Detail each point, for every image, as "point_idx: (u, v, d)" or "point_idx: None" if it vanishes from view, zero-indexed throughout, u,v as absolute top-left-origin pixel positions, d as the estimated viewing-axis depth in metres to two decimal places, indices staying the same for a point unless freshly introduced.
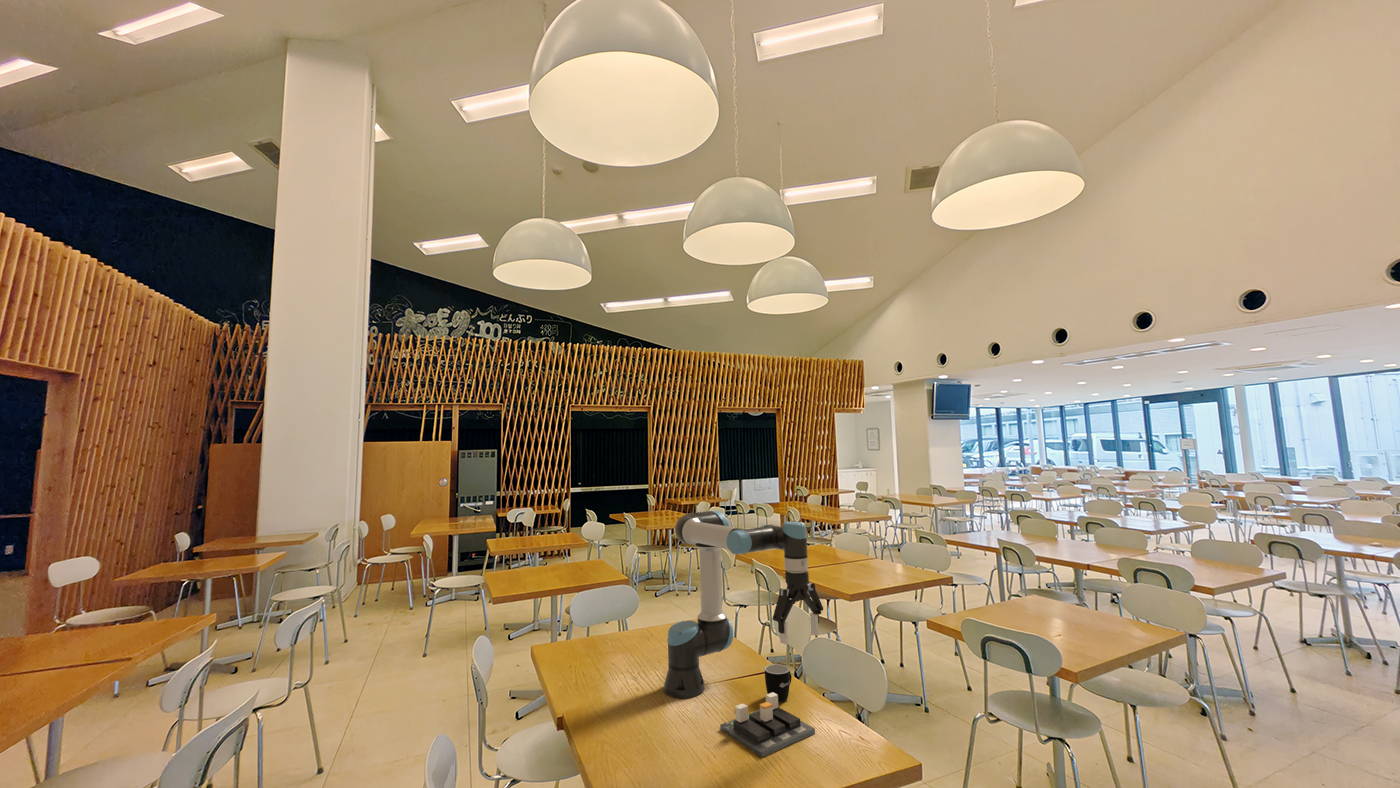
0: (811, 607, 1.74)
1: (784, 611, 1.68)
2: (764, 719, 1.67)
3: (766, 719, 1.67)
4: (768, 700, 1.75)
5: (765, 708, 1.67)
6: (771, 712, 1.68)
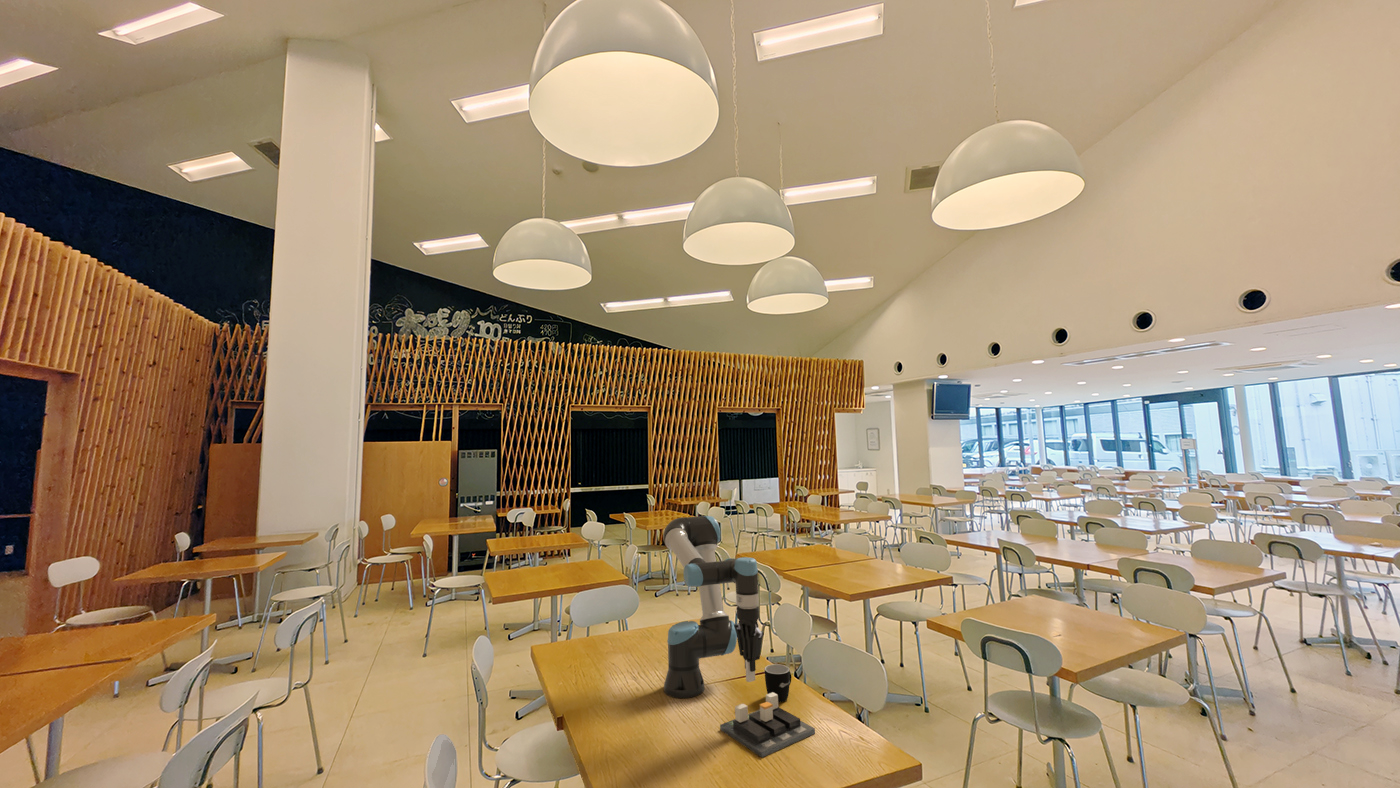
0: None
1: None
2: (764, 719, 1.67)
3: (766, 719, 1.67)
4: (768, 700, 1.75)
5: (765, 708, 1.67)
6: (771, 712, 1.68)
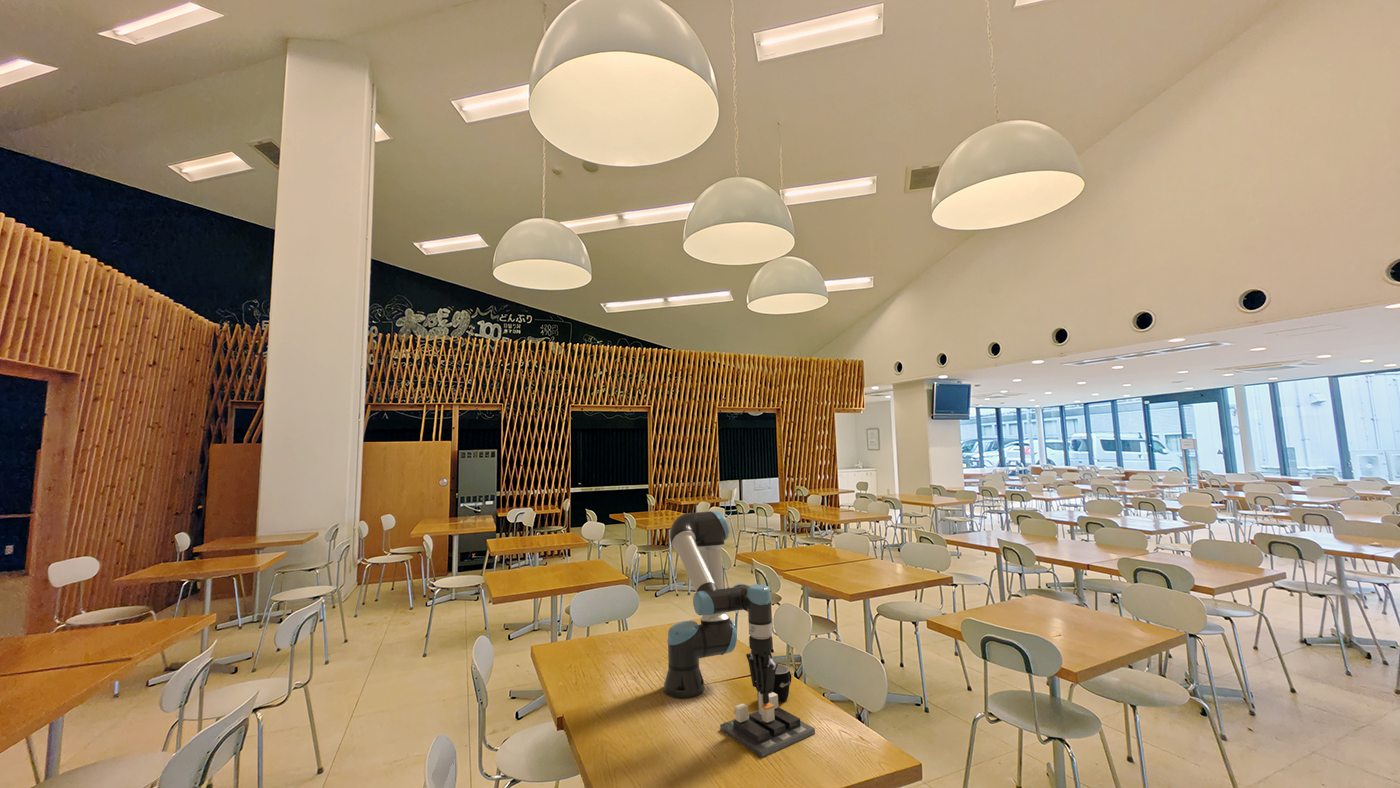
0: None
1: None
2: (766, 720, 1.66)
3: (768, 720, 1.66)
4: None
5: (767, 709, 1.66)
6: (773, 713, 1.67)
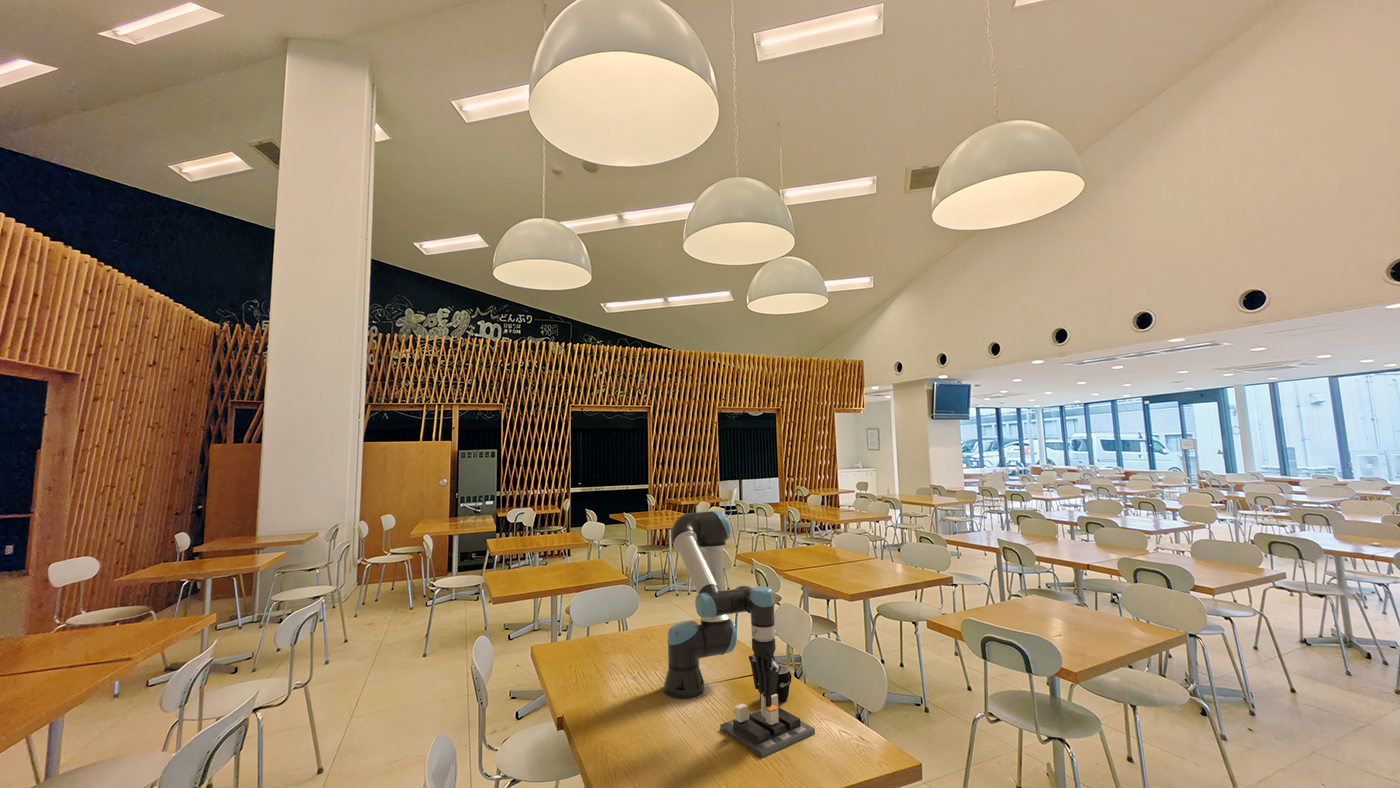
0: None
1: None
2: (770, 722, 1.64)
3: (772, 722, 1.64)
4: None
5: (771, 711, 1.65)
6: (777, 715, 1.66)
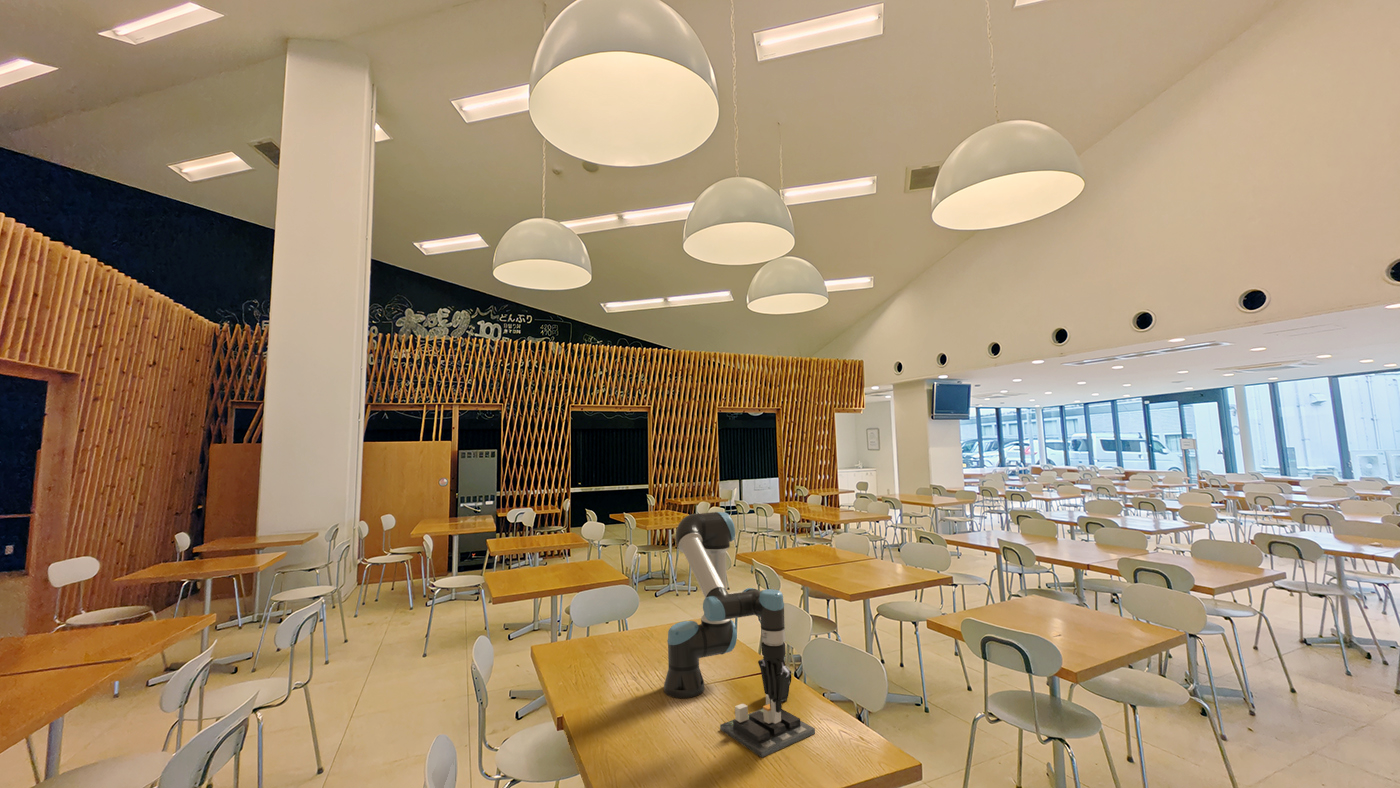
0: None
1: None
2: (767, 721, 1.65)
3: (769, 721, 1.65)
4: (768, 700, 1.75)
5: (768, 710, 1.66)
6: None
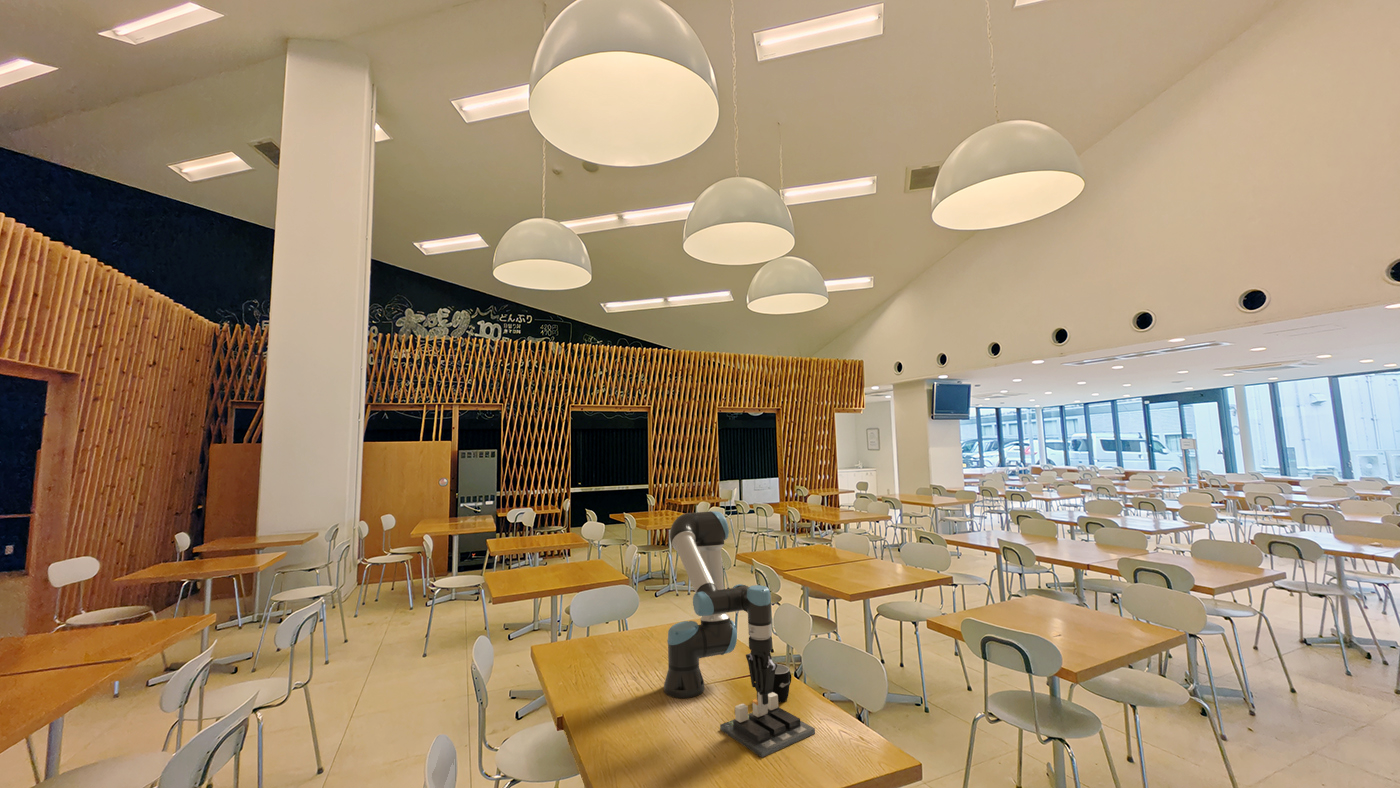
0: None
1: None
2: (756, 715, 1.70)
3: (758, 715, 1.70)
4: (768, 700, 1.75)
5: (757, 704, 1.70)
6: None
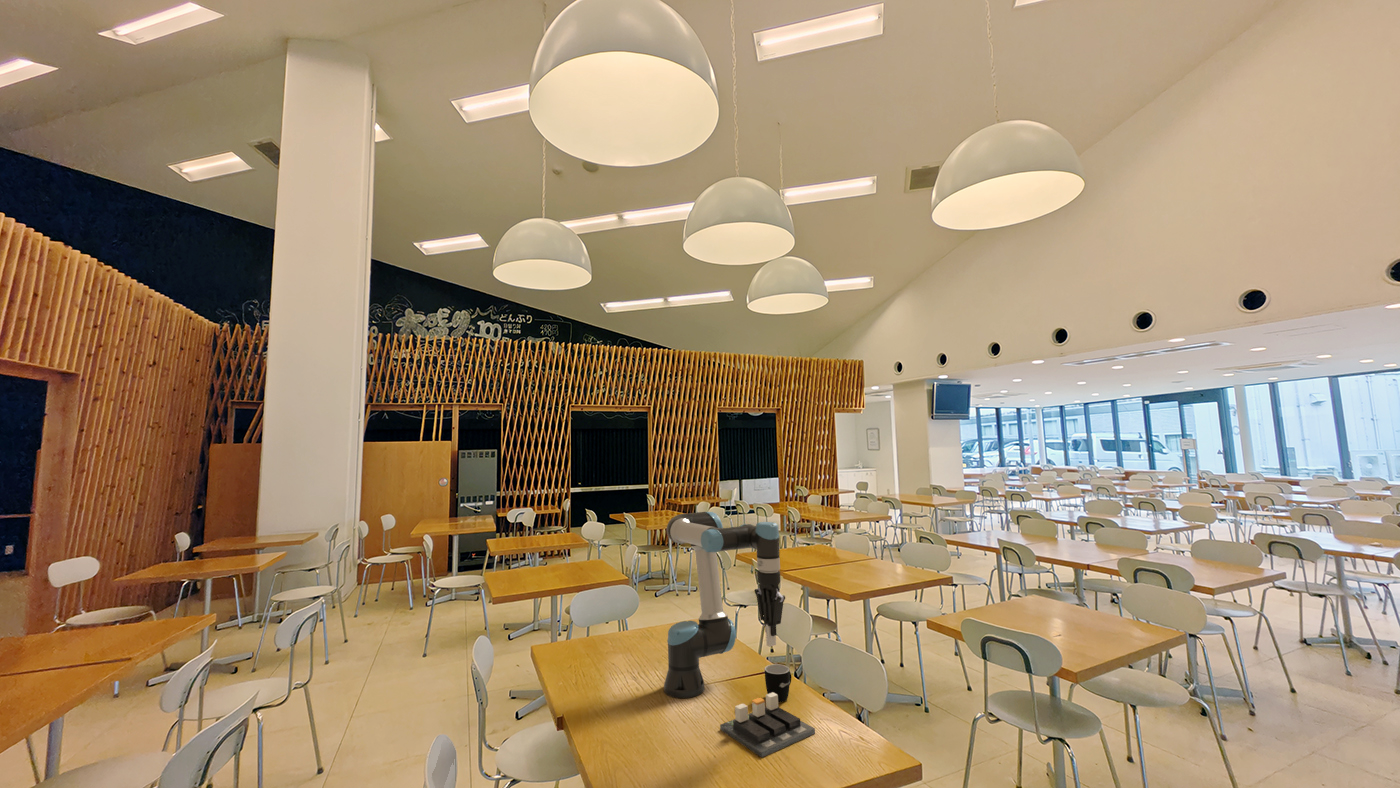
0: None
1: None
2: (756, 714, 1.70)
3: (758, 714, 1.70)
4: (768, 700, 1.75)
5: (757, 704, 1.70)
6: (763, 708, 1.71)
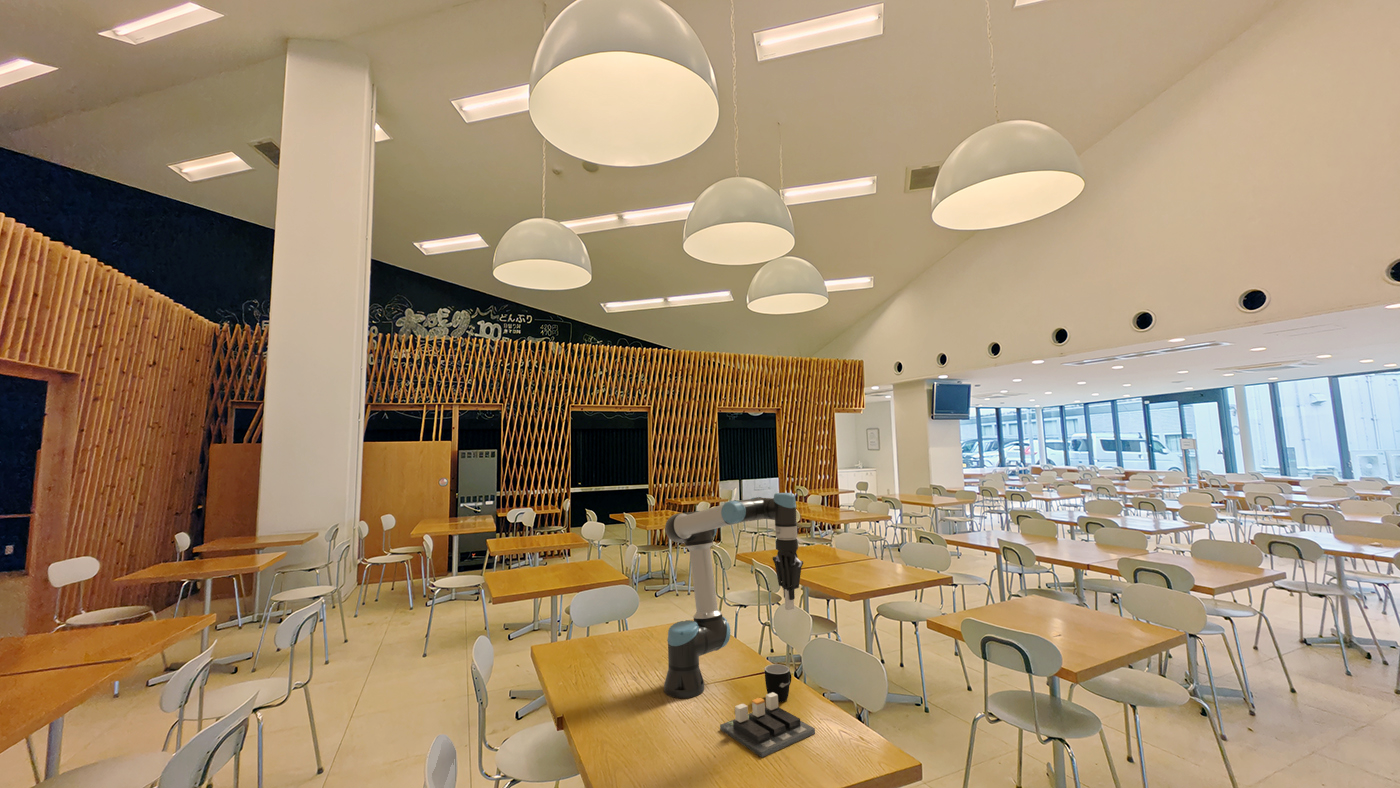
0: None
1: None
2: (756, 714, 1.70)
3: (758, 714, 1.70)
4: (768, 700, 1.75)
5: (757, 704, 1.70)
6: (763, 708, 1.71)
